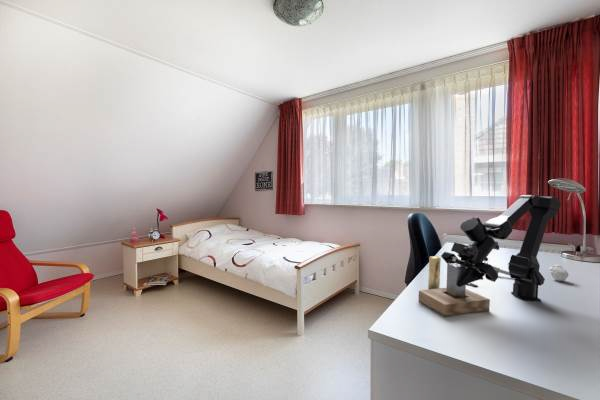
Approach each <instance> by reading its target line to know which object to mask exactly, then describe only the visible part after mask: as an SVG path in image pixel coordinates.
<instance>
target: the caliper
mask: <svg viewBox="0 0 600 400" xmlns="http://www.w3.org/2000/svg"><path fill="white" fill-rule="evenodd" d="M483 263H486V264H489V262H488V261H483ZM491 266H492V267H493V268H494V269H495V271H496V272H497V273H498V274H499V273H500V274H504V275H506V276H510V273H509V270H504V269H501V268H500V267H497V266H495V265H491Z"/></svg>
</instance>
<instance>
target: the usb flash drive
mask: <svg viewBox="0 0 600 400" xmlns="http://www.w3.org/2000/svg"><path fill="white" fill-rule="evenodd" d="M466 285H467V286H469V287H473V288H478V287H479V285H477V284H475V283H473V282H471V283H468V284H466Z"/></svg>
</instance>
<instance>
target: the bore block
mask: <svg viewBox="0 0 600 400" xmlns="http://www.w3.org/2000/svg"><path fill="white" fill-rule="evenodd" d="M446 288H447V287H439V288H438V289H419V290H418V302H419V303H420V304H422V305H423V306H425V307H427V308H429V309H430V310H432V311H434V312H435V313H437V314H439V315H440V316H442V317H444V318H447V317H455V316H456V317H457V316H461V315H470V314H478V313H486V312H490V305H491V304H490V302H491V299H490V298H488V297H486V296H483V295H480V294H478V293H476V292H474V291H472V290H469V289H467V288H466V290H465V298H458V299H455V298H453V297H451V296H449V295H447V294H446Z"/></svg>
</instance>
